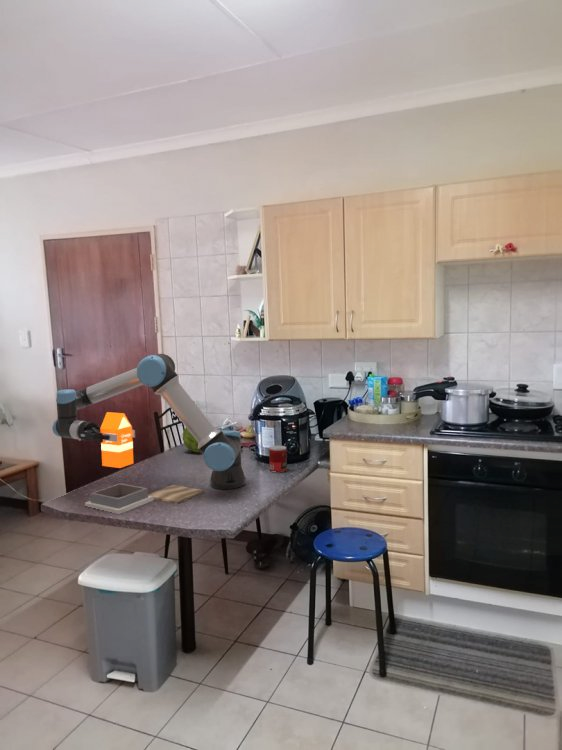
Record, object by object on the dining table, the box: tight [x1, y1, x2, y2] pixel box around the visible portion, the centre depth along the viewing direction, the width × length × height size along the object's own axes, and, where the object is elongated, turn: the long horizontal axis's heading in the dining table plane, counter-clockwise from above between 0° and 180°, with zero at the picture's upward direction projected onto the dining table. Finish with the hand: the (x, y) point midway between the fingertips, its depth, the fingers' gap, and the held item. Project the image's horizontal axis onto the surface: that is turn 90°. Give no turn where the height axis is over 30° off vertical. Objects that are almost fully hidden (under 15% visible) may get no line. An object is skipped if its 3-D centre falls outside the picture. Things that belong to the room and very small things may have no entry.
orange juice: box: [100, 411, 134, 469], centre depth 215 cm, size 8×9×20 cm
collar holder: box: [84, 482, 155, 515], centre depth 218 cm, size 18×18×5 cm
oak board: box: [148, 484, 204, 504], centre depth 227 cm, size 16×16×1 cm
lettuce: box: [182, 427, 202, 454], centre depth 304 cm, size 17×23×16 cm
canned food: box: [268, 445, 288, 472], centre depth 260 cm, size 8×8×11 cm
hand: (125, 435), depth 213 cm, fingers closed on orange juice, 8 cm apart
